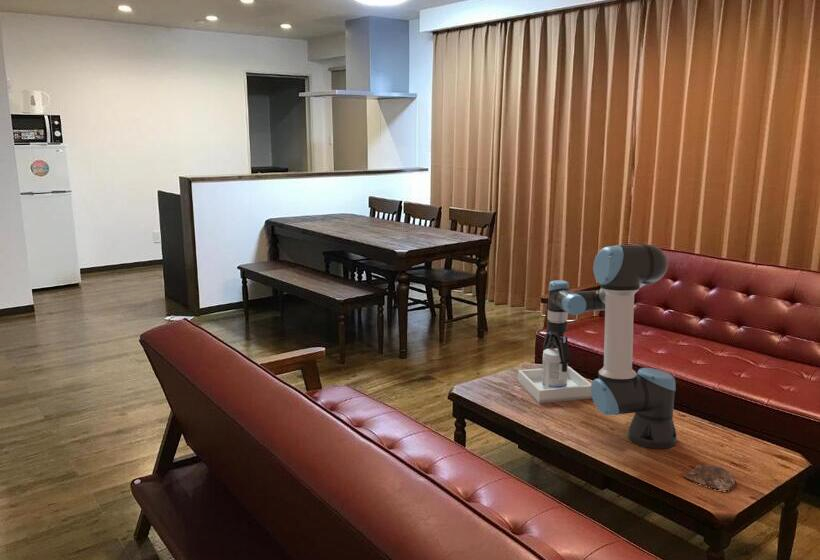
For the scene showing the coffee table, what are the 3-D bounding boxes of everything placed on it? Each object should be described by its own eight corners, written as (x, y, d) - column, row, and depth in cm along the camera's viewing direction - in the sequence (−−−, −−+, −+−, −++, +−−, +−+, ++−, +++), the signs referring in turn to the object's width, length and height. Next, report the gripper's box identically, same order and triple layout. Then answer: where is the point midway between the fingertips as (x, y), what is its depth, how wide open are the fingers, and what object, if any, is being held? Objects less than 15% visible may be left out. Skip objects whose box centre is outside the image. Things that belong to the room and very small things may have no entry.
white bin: (593, 398, 249) (594, 385, 248) (539, 403, 245) (539, 390, 244) (568, 377, 270) (568, 366, 269) (517, 381, 266) (518, 370, 265)
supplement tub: (571, 387, 257) (573, 351, 254) (557, 393, 251) (559, 357, 248) (550, 380, 264) (552, 346, 261) (536, 387, 258) (538, 351, 254)
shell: (698, 465, 199) (699, 455, 199) (742, 481, 190) (743, 470, 189) (681, 479, 192) (682, 468, 191) (725, 496, 183) (726, 484, 182)
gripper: (581, 328, 240) (578, 383, 245) (553, 311, 264) (551, 361, 268) (562, 330, 239) (559, 385, 243) (535, 313, 262) (533, 363, 267)
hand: (555, 373), depth 256 cm, fingers open, 13 cm apart
